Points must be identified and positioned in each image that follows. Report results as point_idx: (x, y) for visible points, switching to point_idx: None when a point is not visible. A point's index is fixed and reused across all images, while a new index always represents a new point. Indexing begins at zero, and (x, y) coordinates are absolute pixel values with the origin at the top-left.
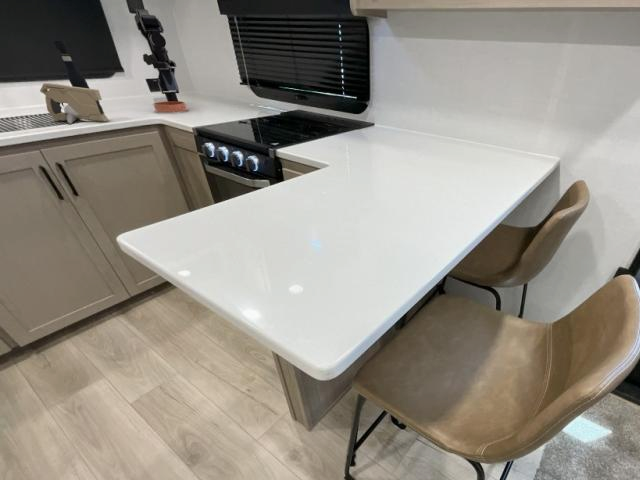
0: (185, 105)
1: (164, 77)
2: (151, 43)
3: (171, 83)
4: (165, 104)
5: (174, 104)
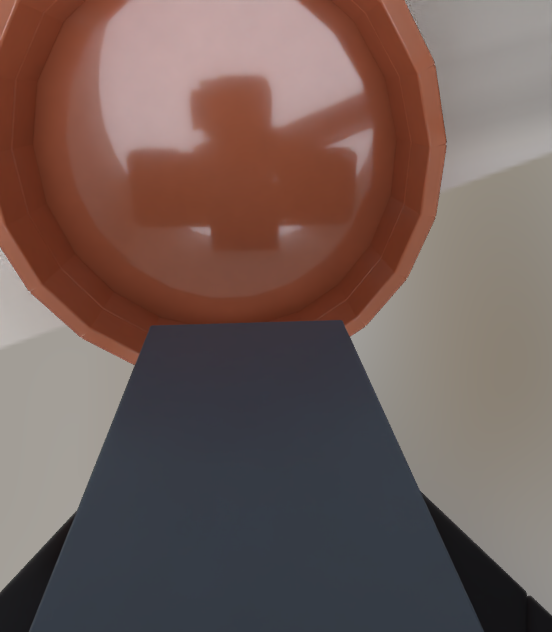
0: None
1: (59, 594)
2: None
3: None
4: (393, 60)
5: (53, 302)
